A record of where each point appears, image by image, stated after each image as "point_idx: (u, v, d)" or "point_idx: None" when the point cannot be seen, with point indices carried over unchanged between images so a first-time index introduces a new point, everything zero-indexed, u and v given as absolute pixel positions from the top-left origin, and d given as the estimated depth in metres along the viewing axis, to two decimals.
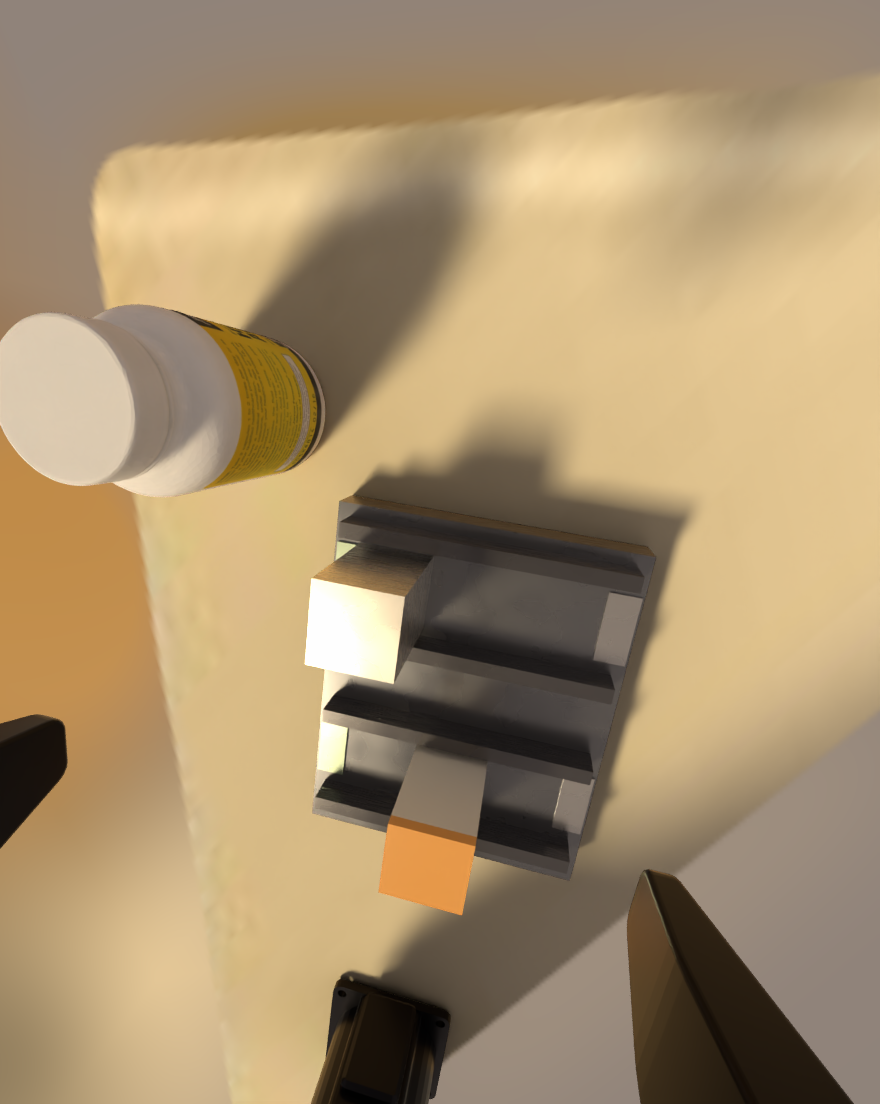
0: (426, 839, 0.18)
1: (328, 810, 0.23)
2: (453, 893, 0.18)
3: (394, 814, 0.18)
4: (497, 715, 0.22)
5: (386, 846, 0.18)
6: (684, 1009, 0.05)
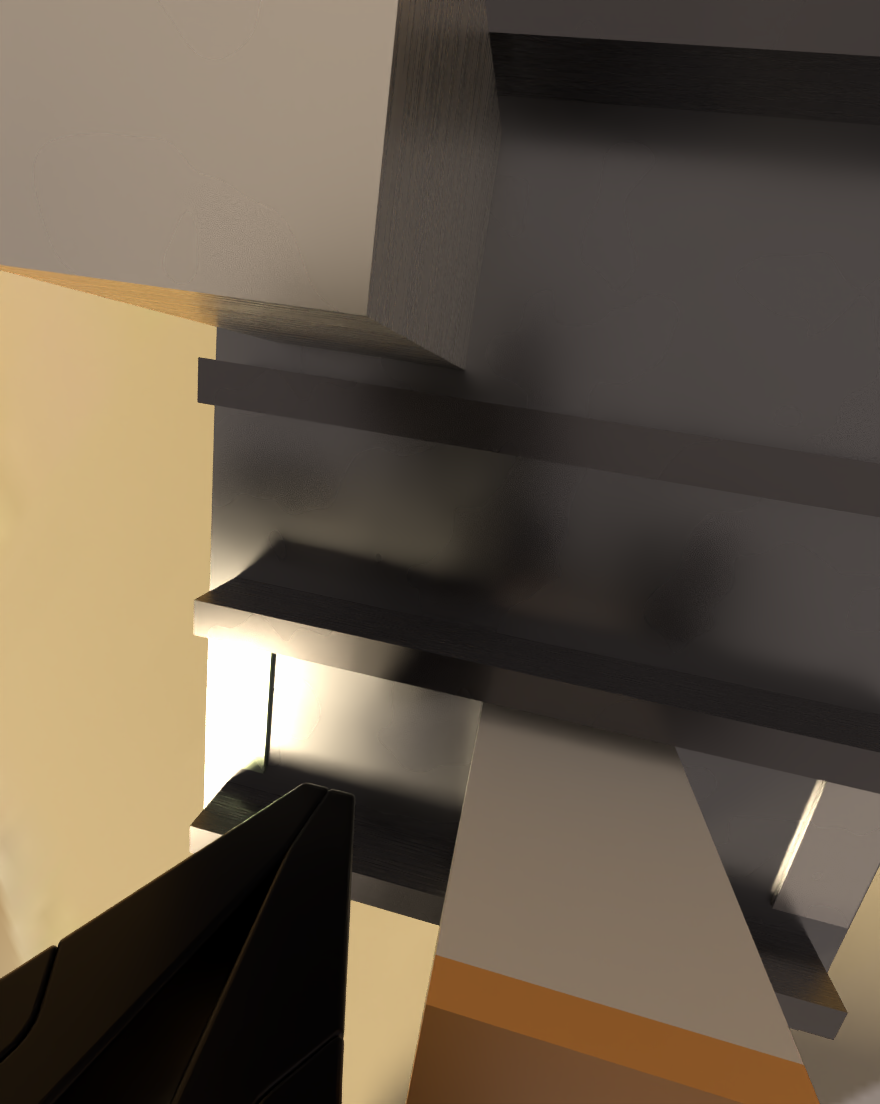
0: (593, 1079, 0.04)
1: None
2: None
3: (448, 951, 0.05)
4: (653, 619, 0.08)
5: (416, 1084, 0.04)
6: None
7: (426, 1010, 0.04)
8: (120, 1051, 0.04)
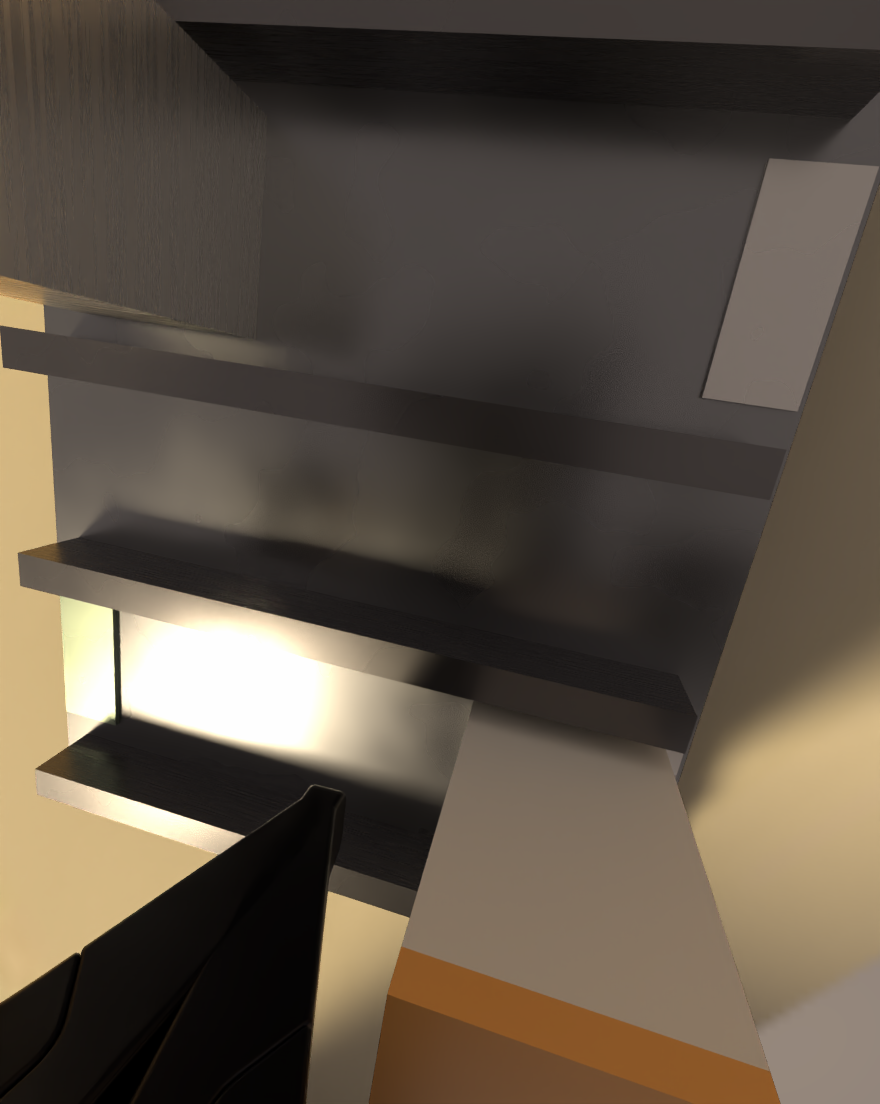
0: (552, 1076, 0.04)
1: (65, 800, 0.10)
2: None
3: (414, 943, 0.05)
4: (441, 576, 0.09)
5: (380, 1075, 0.04)
6: None
7: (388, 1000, 0.04)
8: (147, 1060, 0.04)
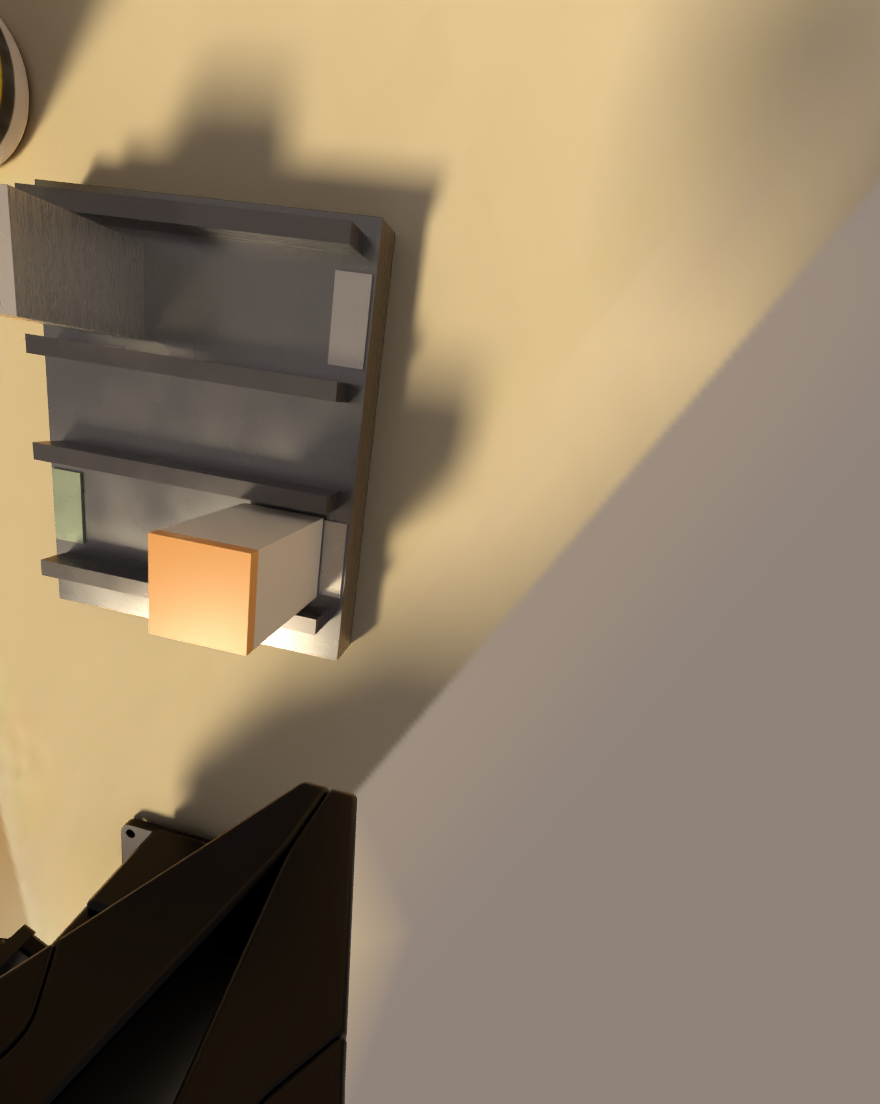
0: (194, 550, 0.14)
1: (57, 576, 0.20)
2: (232, 624, 0.14)
3: (163, 529, 0.15)
4: (236, 450, 0.19)
5: (150, 566, 0.14)
6: None
7: (148, 535, 0.14)
8: (118, 1050, 0.04)
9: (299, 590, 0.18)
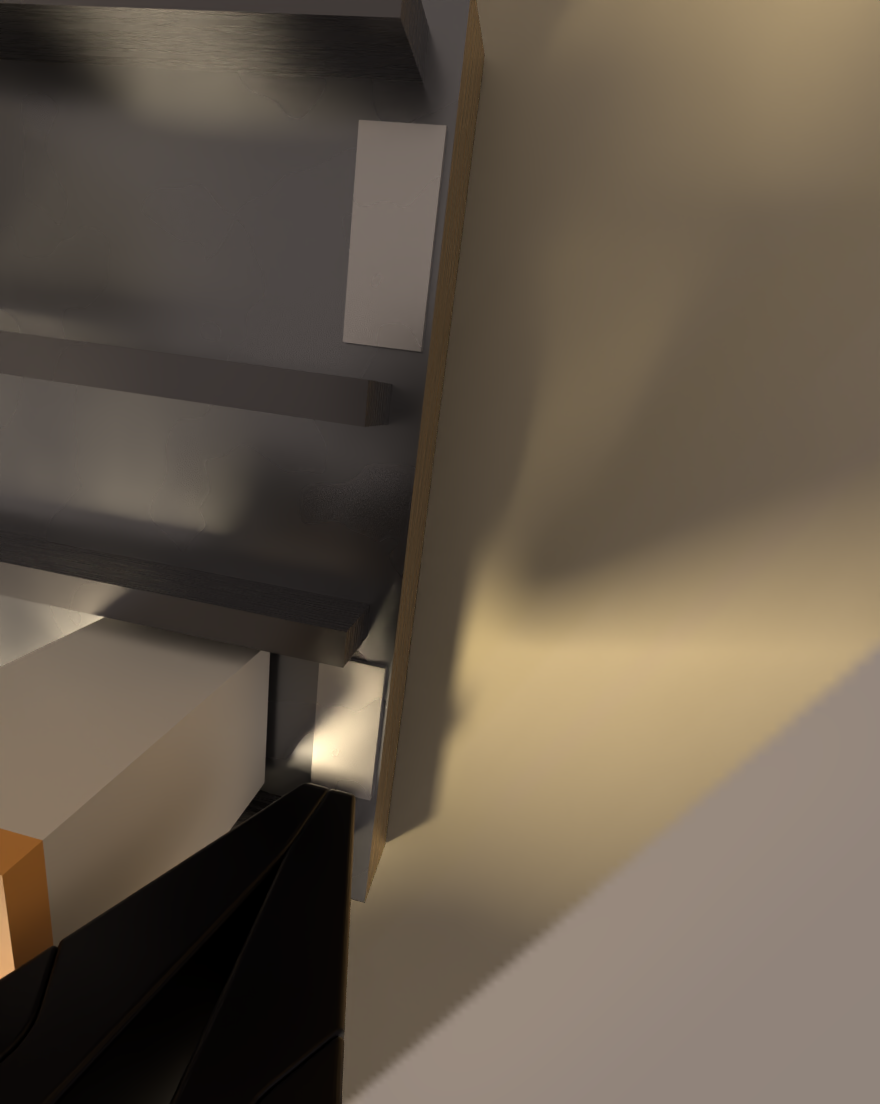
0: None
1: None
2: None
3: None
4: (160, 521, 0.09)
5: None
6: None
7: None
8: (121, 1051, 0.04)
9: (216, 809, 0.08)
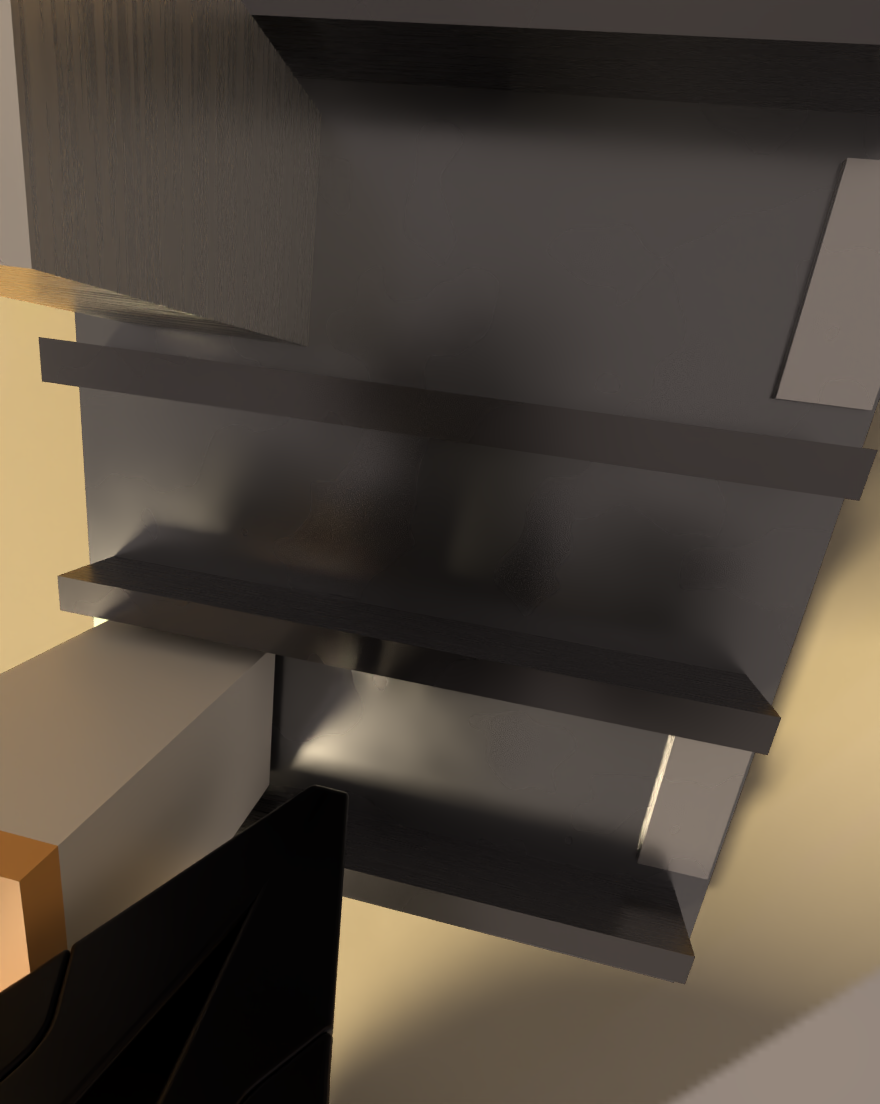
0: None
1: None
2: None
3: None
4: (504, 585, 0.09)
5: None
6: None
7: None
8: (135, 1056, 0.04)
9: (222, 812, 0.08)
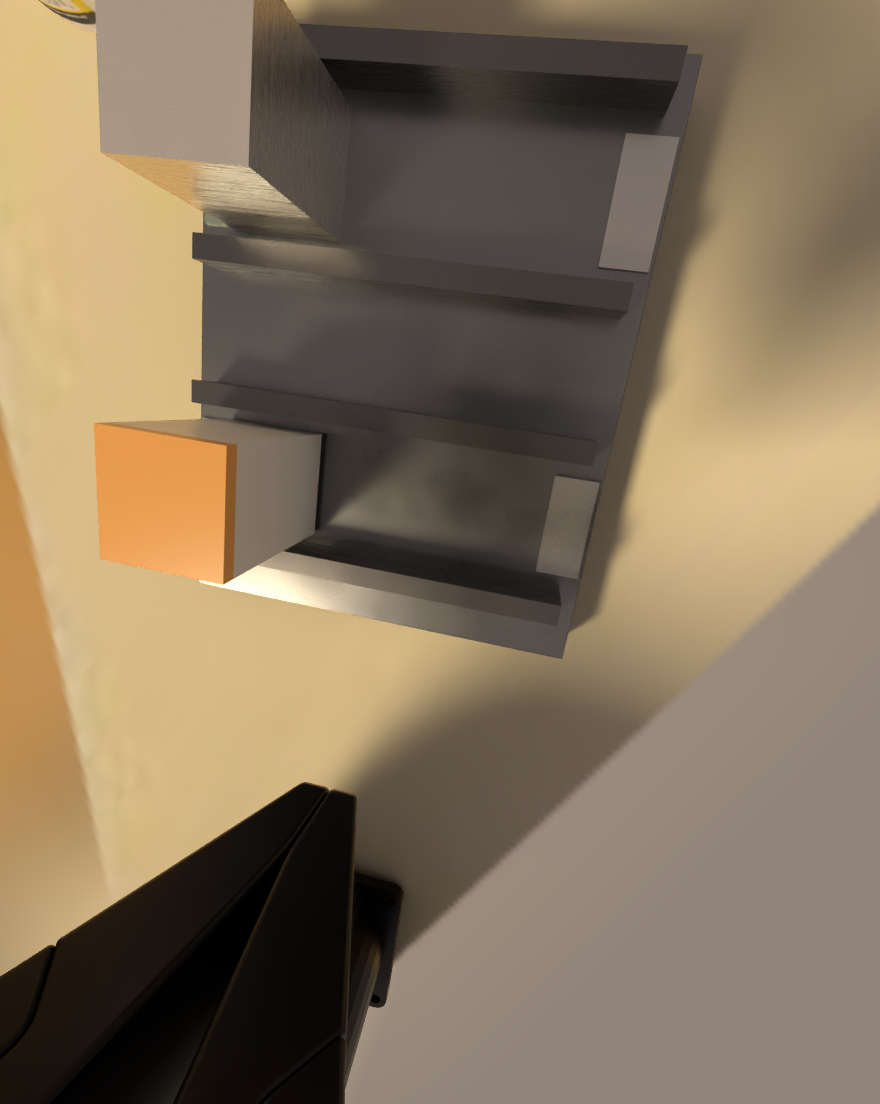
0: (153, 444, 0.11)
1: None
2: (205, 543, 0.11)
3: (115, 423, 0.11)
4: (453, 388, 0.14)
5: (98, 469, 0.11)
6: None
7: (94, 426, 0.11)
8: (118, 1050, 0.04)
9: (292, 518, 0.14)
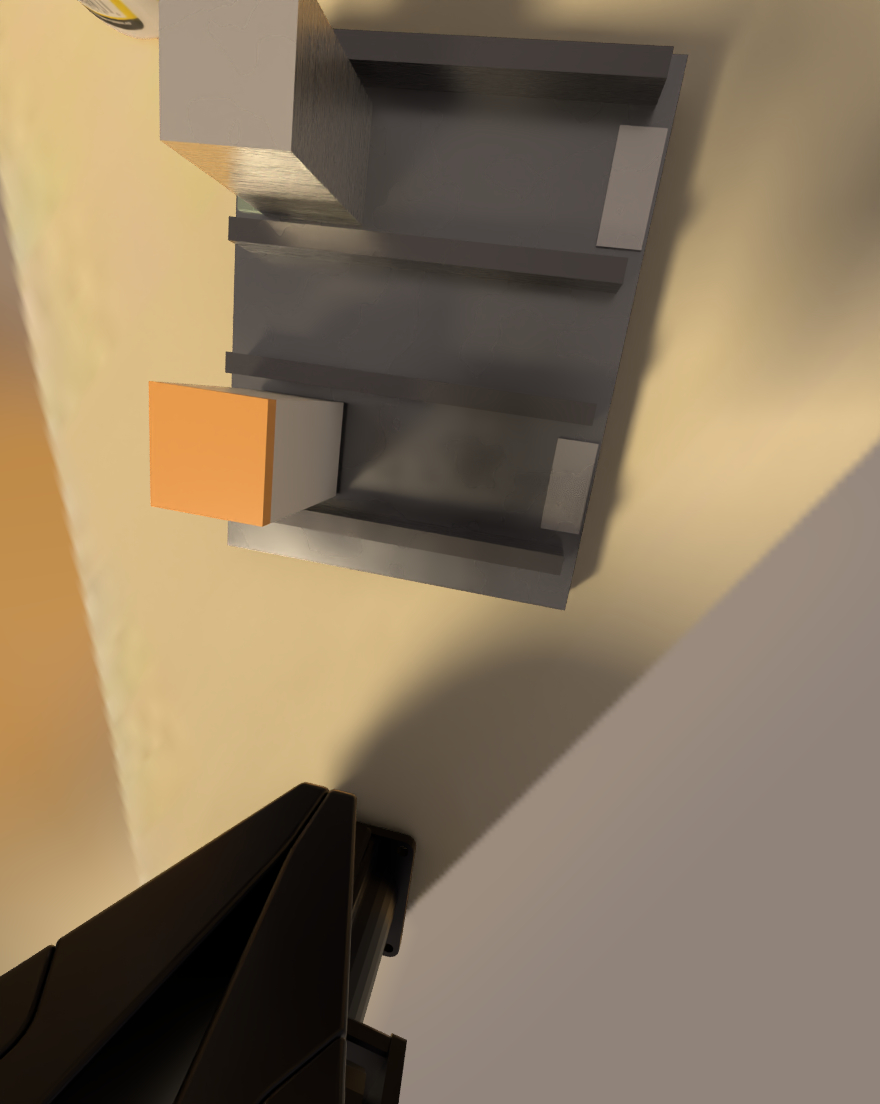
0: (202, 399, 0.12)
1: None
2: (247, 489, 0.13)
3: None
4: (464, 359, 0.16)
5: (151, 423, 0.13)
6: None
7: (149, 384, 0.12)
8: (118, 1050, 0.04)
9: (317, 477, 0.16)
